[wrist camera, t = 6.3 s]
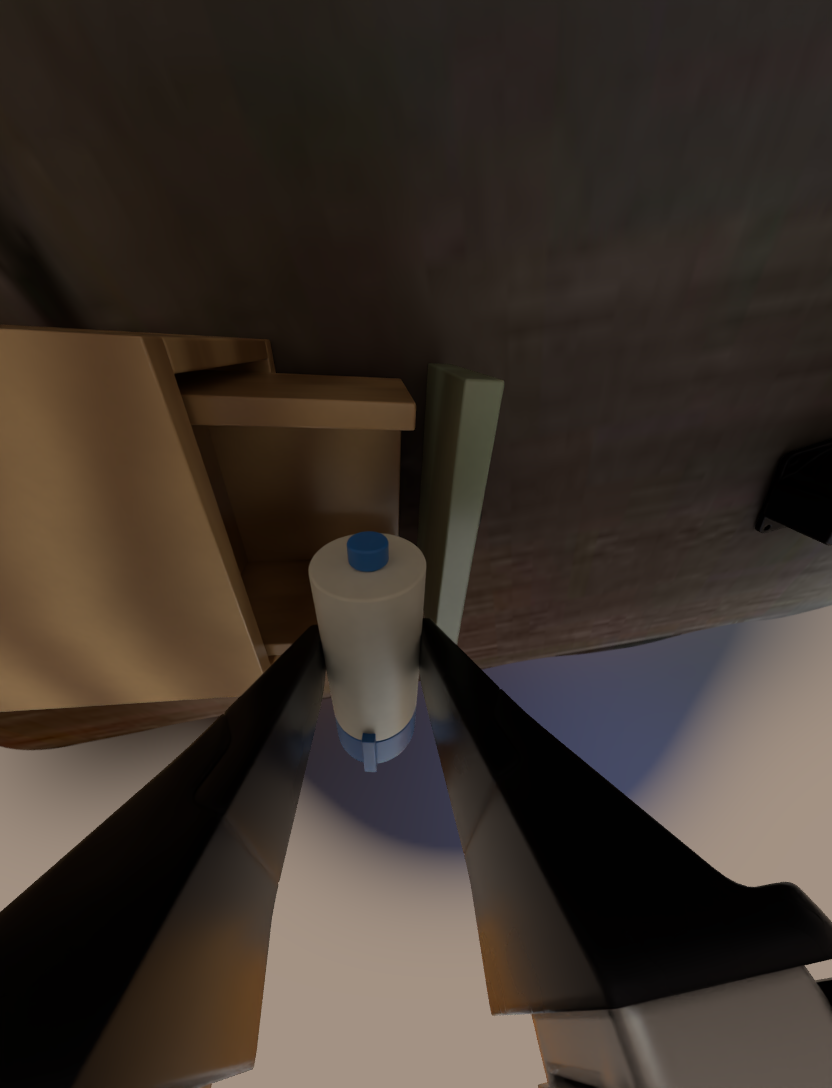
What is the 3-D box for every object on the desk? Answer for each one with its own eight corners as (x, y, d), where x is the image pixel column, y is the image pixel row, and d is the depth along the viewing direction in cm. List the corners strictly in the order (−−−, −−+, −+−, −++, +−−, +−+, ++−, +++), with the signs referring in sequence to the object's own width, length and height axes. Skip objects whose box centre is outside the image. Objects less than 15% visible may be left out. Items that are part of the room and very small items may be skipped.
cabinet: (270, 339, 15) (140, 335, 7) (309, 567, 22) (270, 694, 14) (-62, 320, 13) (-737, 288, 5) (99, 571, 21) (-78, 717, 13)
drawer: (475, 365, 15) (546, 382, 9) (449, 564, 22) (478, 657, 16) (178, 350, 14) (2, 357, 7) (247, 569, 21) (186, 674, 14)
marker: (324, 510, 9) (279, 583, 6) (427, 515, 9) (428, 590, 6) (347, 684, 13) (327, 771, 10) (416, 687, 13) (413, 774, 10)
